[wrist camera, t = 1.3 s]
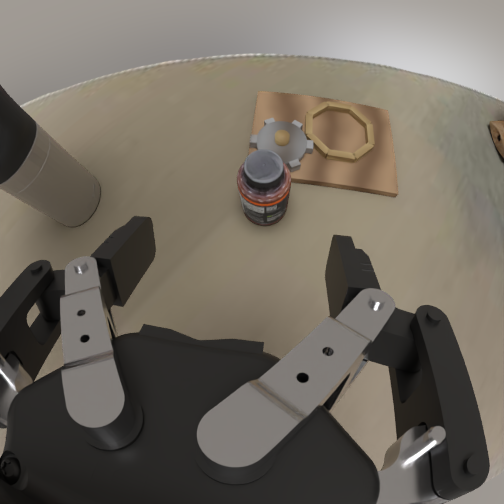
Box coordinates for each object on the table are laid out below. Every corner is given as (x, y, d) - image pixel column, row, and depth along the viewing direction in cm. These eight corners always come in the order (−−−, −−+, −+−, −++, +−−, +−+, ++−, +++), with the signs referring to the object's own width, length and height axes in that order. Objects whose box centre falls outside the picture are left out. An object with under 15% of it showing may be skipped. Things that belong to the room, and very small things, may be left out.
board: (246, 177, 40) (244, 163, 36) (258, 95, 44) (257, 79, 40) (395, 197, 39) (406, 186, 35) (385, 114, 42) (393, 100, 38)
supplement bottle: (263, 178, 40) (263, 130, 29) (295, 205, 39) (306, 164, 28) (233, 206, 39) (222, 166, 28) (265, 236, 38) (265, 203, 27)
